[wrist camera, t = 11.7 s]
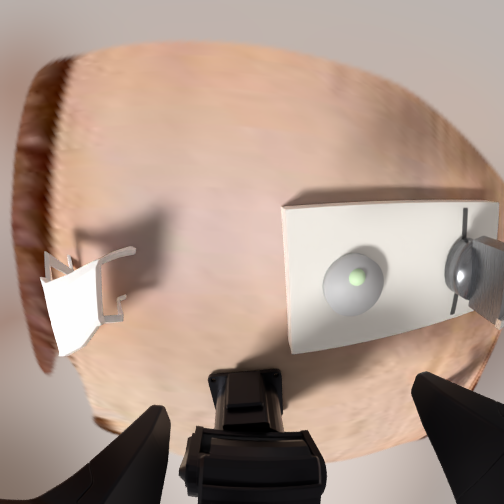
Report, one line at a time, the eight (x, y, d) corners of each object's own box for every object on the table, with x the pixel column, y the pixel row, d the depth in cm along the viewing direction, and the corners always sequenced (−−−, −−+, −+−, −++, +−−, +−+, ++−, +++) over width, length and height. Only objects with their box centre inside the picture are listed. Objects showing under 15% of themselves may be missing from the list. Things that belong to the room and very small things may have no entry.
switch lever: (479, 226, 18) (530, 243, 11) (476, 287, 19) (519, 314, 13) (444, 238, 18) (499, 261, 11) (442, 304, 19) (487, 338, 13)
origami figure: (65, 211, 18) (28, 221, 14) (150, 244, 19) (124, 263, 15) (56, 326, 21) (30, 351, 16) (126, 361, 22) (108, 394, 17)
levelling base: (474, 299, 22) (494, 312, 19) (288, 340, 22) (295, 366, 18) (486, 200, 19) (510, 204, 16) (280, 206, 19) (289, 212, 15)
